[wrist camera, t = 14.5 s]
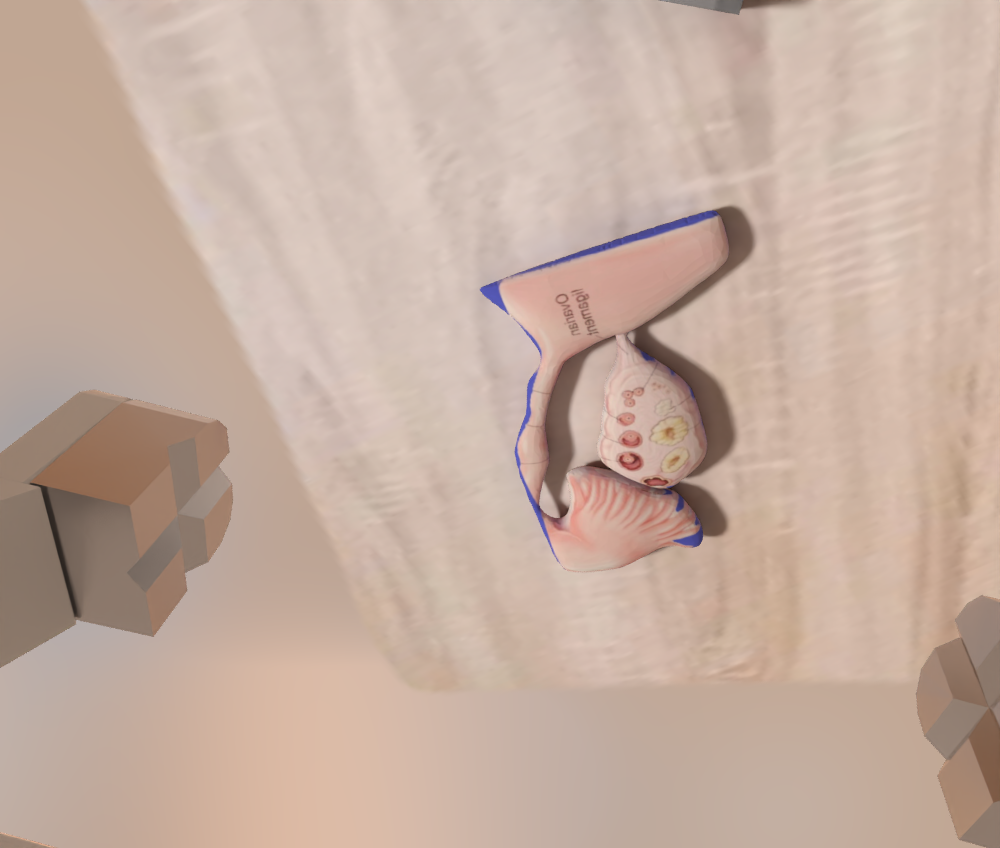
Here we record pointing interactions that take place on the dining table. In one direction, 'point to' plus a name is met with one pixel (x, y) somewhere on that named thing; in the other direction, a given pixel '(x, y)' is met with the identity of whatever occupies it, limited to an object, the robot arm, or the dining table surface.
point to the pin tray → (713, 4)
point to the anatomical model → (616, 390)
